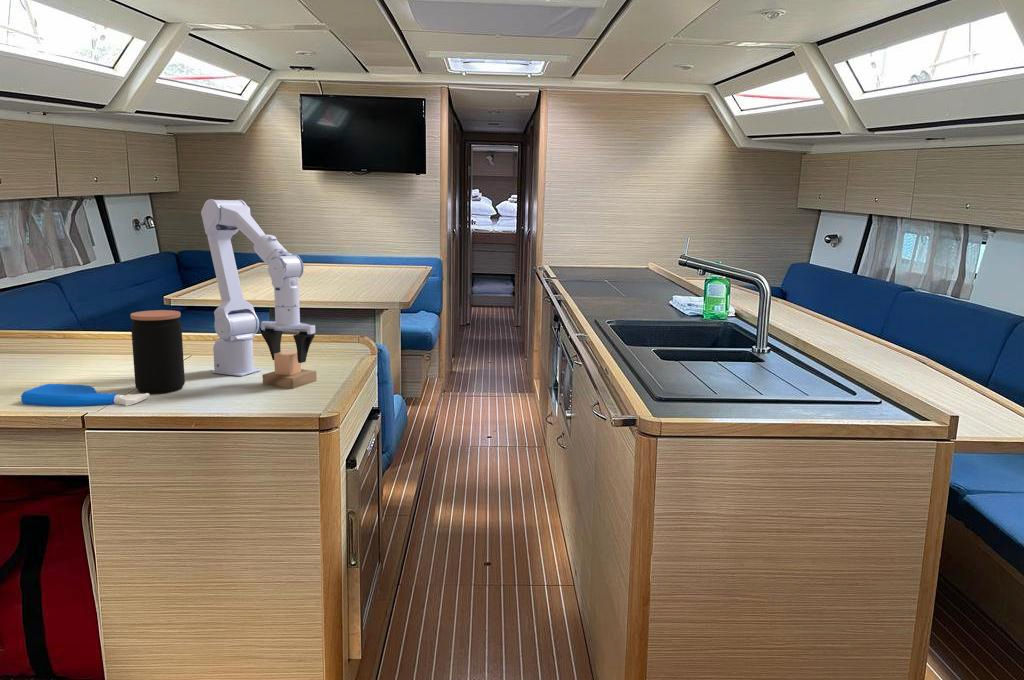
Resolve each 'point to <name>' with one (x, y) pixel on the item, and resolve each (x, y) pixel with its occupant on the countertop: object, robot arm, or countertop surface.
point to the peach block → (286, 363)
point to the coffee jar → (157, 351)
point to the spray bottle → (75, 396)
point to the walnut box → (289, 379)
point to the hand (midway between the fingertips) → (289, 360)
